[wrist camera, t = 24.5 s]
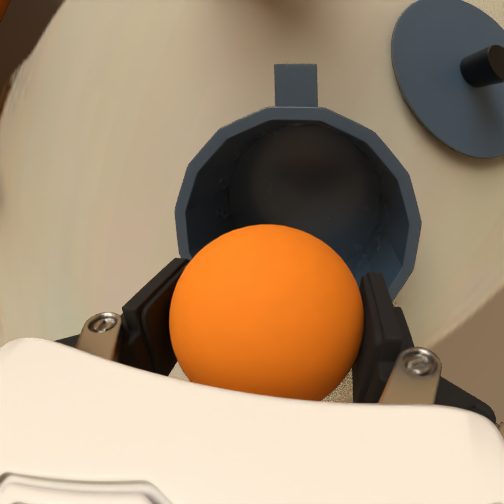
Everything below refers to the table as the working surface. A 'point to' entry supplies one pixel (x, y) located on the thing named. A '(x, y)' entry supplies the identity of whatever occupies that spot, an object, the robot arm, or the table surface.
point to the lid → (453, 73)
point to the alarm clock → (3, 7)
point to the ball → (267, 314)
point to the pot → (304, 183)
